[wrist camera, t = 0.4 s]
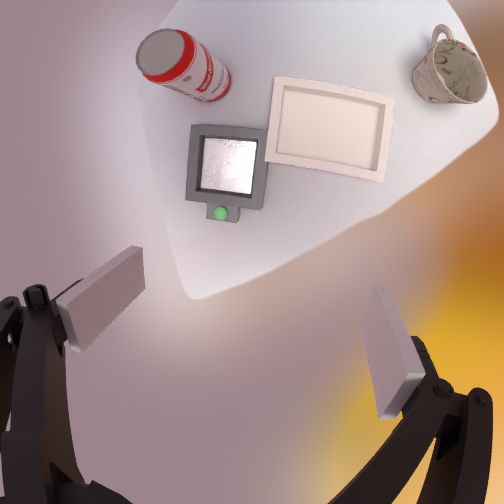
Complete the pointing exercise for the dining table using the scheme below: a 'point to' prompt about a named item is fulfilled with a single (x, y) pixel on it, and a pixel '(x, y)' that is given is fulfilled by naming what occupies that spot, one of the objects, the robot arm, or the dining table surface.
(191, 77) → the beer can
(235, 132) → the frame
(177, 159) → the dining table surface
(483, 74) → the mug
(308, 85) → the cream rectangular tray
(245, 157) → the plate
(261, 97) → the dining table surface
